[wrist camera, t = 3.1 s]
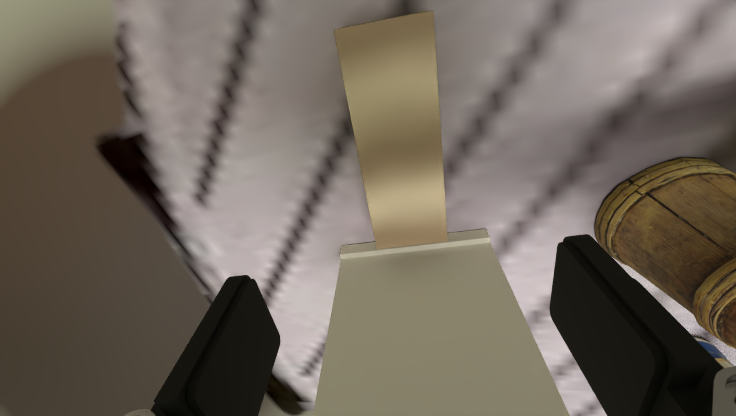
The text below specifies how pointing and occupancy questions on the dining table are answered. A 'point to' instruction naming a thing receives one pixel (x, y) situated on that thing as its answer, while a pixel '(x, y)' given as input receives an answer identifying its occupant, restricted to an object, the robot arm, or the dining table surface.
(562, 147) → the dining table surface
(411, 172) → the tan wooden block
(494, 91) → the dining table surface
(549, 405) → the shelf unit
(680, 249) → the wooden mug
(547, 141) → the dining table surface
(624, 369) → the robot arm
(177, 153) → the dining table surface
